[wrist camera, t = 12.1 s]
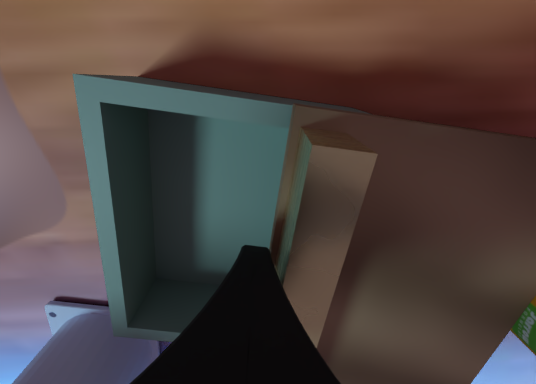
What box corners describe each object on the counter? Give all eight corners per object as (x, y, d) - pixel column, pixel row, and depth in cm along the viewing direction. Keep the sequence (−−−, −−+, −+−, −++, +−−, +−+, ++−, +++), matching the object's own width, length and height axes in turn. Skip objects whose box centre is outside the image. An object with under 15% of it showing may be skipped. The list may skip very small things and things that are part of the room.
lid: (448, 376, 14) (500, 461, 11) (251, 356, 14) (245, 440, 11) (601, 147, 9) (783, 183, 6) (293, 103, 9) (306, 115, 5)
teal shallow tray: (303, 294, 18) (313, 356, 14) (150, 277, 18) (113, 336, 14) (351, 107, 13) (387, 119, 9) (136, 76, 13) (72, 73, 9)
